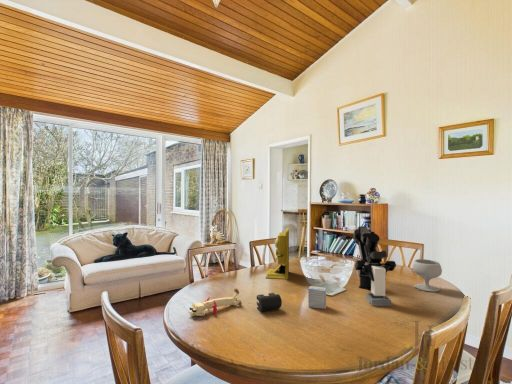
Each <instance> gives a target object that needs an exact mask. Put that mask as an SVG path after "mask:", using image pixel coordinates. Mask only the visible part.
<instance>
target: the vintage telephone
mask: <svg viewBox="0 0 512 384" xmlns="http://www.w3.org/2000/svg"><path fill="white" fill-rule="evenodd" d="M274 246H275V248H276V249H275V261H277V266H276V268H269V269H268V270H267V273H266V276H265V279H272V280H273V279H274V280H275V279H276V280H277V279H278V280H286V281H289V272H290V265H289V264H290V258H289V257H290V227H286V229H285V232H284V231H281V232H278V234H277V237H276V239H275V241H274Z"/></svg>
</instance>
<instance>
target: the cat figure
mask: <svg viewBox="0 0 512 384" xmlns="http://www.w3.org/2000/svg"><path fill="white" fill-rule="evenodd" d="M233 292H235V293H234V294H233V295H232V296H231V297H218V298H213V299H211V297H207V299H206V300H205V301H203V302H193V304H192V306H190V307H189V310H190V311H188V314H190V316H191V317H194V316H197V317H198V316H200V317H203V316H204V317H205V315H206V313H208V312H209V310H210V309H212V312H213V314H214V315H216V314H217V312H218V309H217V308H218V307H221V306H223V307H224V306H225V307H226V306H241V305H242V303H243V302H242V299H241V298H238V295H239V294H240V291H239V289H238V288H237V287H235V288H234V290H233ZM210 299H211V300H210Z"/></svg>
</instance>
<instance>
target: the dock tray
mask: <svg viewBox="0 0 512 384" xmlns="http://www.w3.org/2000/svg"><path fill="white" fill-rule="evenodd" d="M365 299H366V301H368V303H369V304H370V306H372V307H389V308H390V307H392V300H391V298H389V296H388V295H386V294H385V296H374V294H373V293H372V292H366V293H365Z"/></svg>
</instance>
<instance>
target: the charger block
mask: <svg viewBox="0 0 512 384" xmlns="http://www.w3.org/2000/svg"><path fill="white" fill-rule="evenodd" d="M371 271H372V274H373V277H374V281H372V280H371V290H370V293H373V294H374V296H385V295H386V280H387V272H386V269H385V268H384V267H382V266H372V267H371Z"/></svg>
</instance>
